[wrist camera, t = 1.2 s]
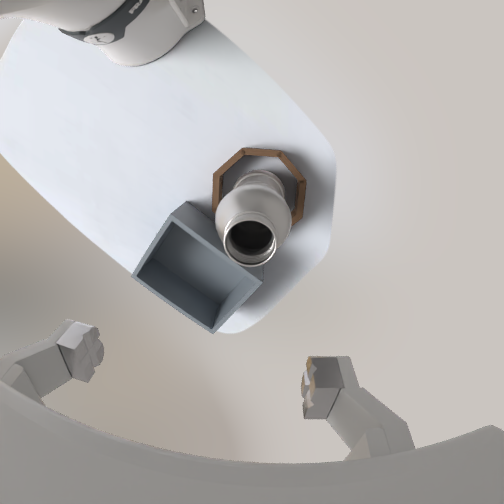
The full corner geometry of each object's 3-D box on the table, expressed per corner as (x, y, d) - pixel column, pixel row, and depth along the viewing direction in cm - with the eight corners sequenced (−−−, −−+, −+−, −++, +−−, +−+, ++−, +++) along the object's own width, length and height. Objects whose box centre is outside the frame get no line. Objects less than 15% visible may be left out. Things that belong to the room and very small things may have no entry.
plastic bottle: (283, 214, 39) (297, 286, 20) (234, 213, 39) (204, 283, 20) (284, 168, 36) (303, 198, 18) (233, 167, 36) (199, 196, 18)
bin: (149, 256, 42) (130, 276, 36) (186, 201, 39) (170, 213, 32) (220, 307, 45) (213, 334, 39) (263, 259, 41) (262, 282, 35)
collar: (218, 146, 35) (214, 147, 33) (305, 152, 35) (309, 153, 32) (215, 228, 40) (211, 235, 37) (297, 235, 40) (299, 242, 37)
